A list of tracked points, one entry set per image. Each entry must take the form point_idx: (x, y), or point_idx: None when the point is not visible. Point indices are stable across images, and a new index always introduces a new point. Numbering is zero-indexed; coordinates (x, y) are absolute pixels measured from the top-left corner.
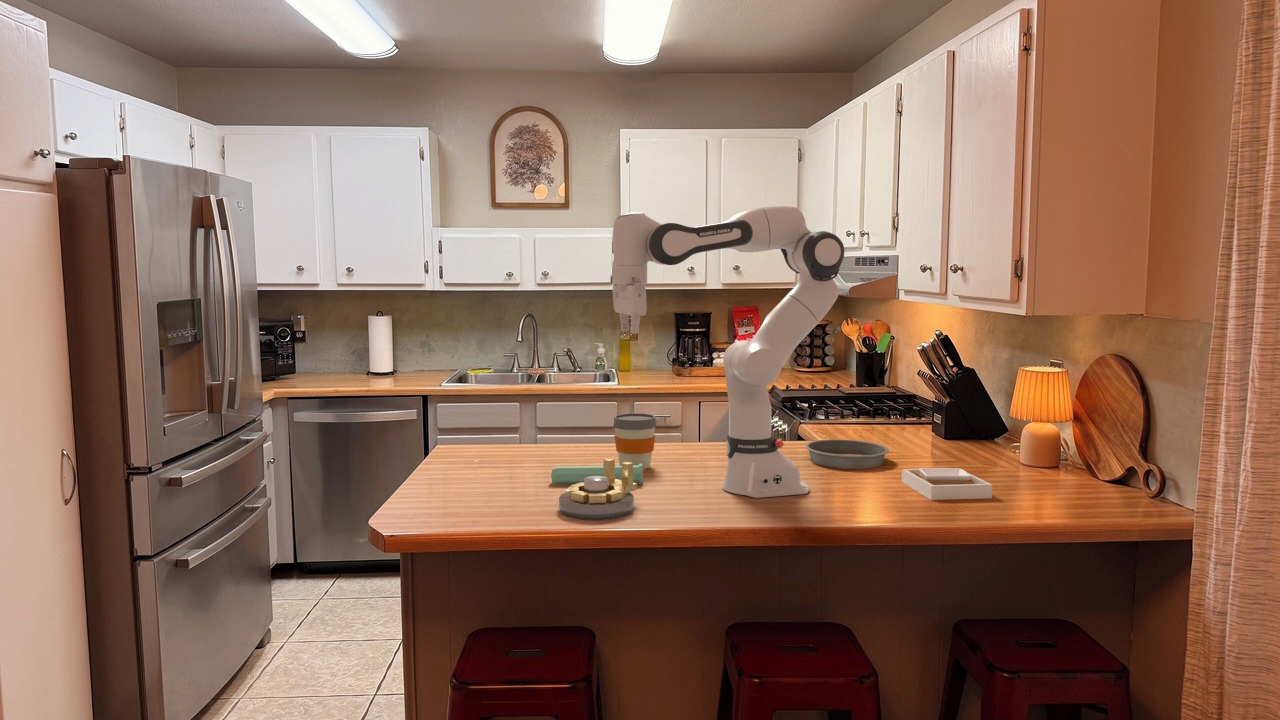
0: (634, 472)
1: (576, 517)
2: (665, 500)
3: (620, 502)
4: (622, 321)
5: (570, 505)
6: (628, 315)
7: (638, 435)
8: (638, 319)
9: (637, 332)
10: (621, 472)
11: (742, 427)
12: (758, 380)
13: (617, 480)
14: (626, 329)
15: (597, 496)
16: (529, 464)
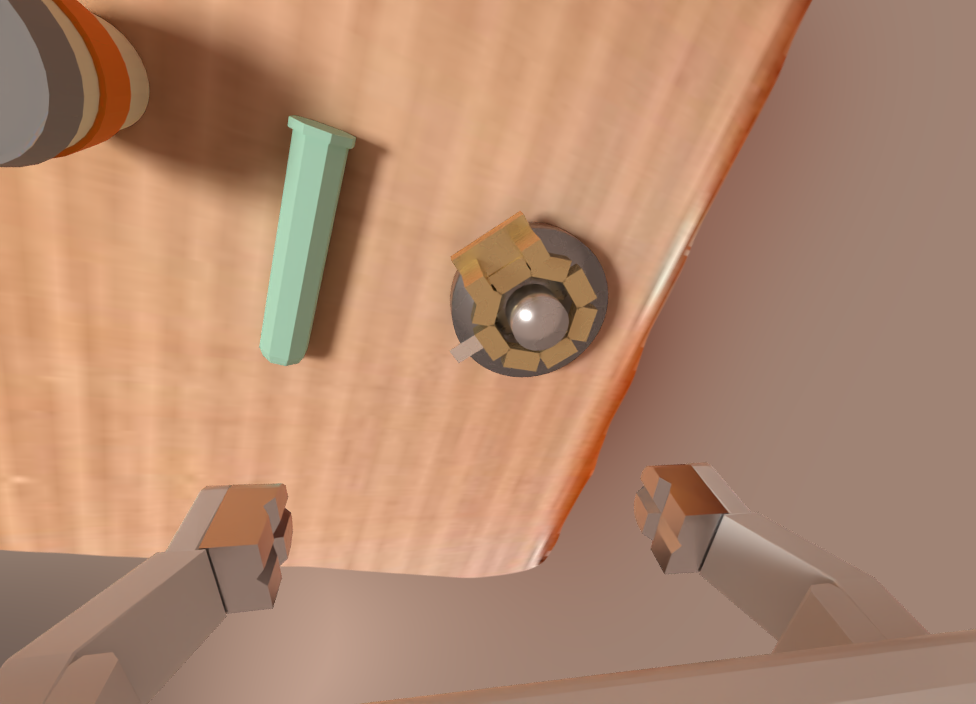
0: (341, 160)
1: None
2: (514, 125)
3: (590, 271)
4: (183, 645)
5: (566, 364)
6: (101, 697)
7: (88, 75)
8: (868, 600)
9: (707, 472)
10: (333, 198)
11: None
12: None
13: (478, 252)
14: (280, 515)
15: (590, 325)
16: (64, 374)
